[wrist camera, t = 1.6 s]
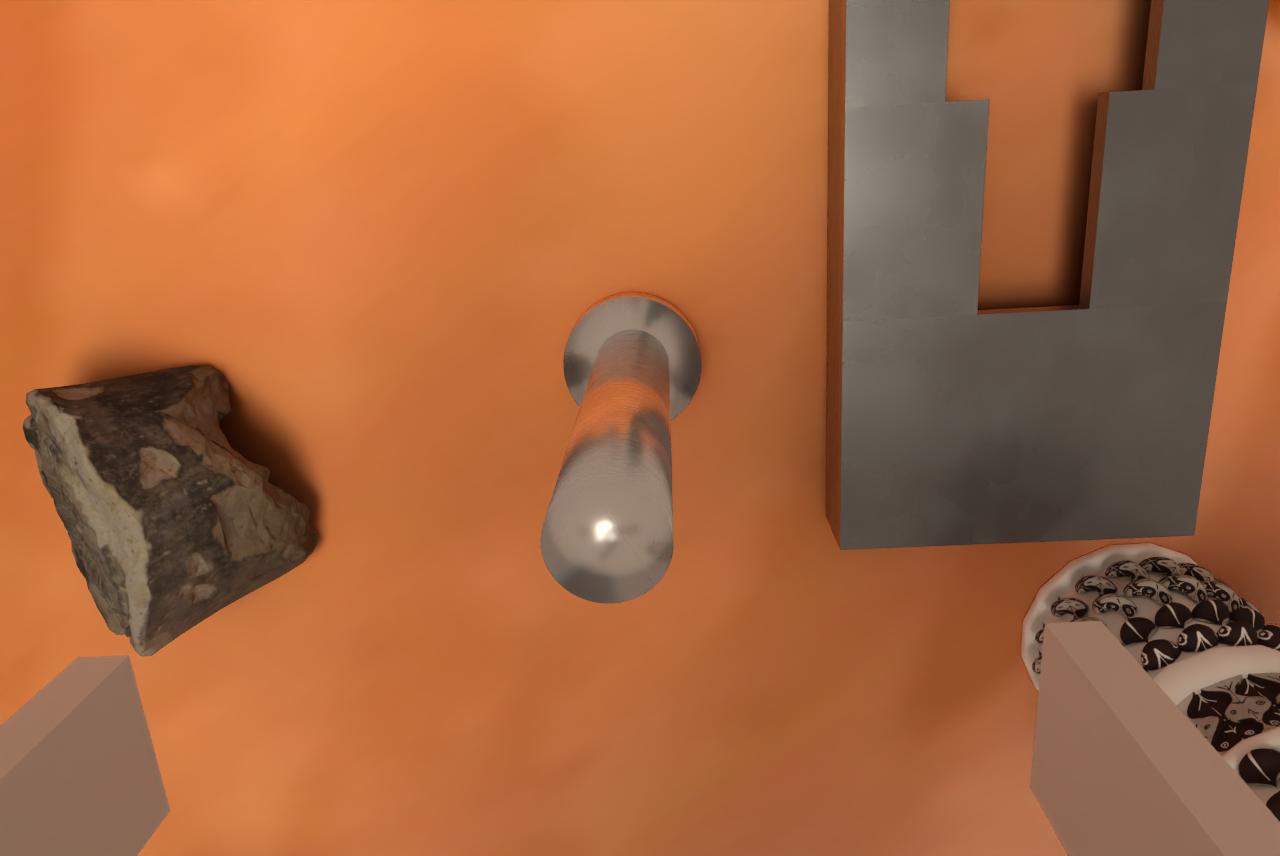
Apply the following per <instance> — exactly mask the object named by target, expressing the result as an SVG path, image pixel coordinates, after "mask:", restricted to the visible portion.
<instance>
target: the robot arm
mask: <svg viewBox="0 0 1280 856" xmlns="http://www.w3.org/2000/svg"><path fill="white" fill-rule="evenodd" d="M1030 787H1031V789H1032V791H1033V793H1034V795H1035V796H1036V798H1037V800H1038V802H1039V804H1040V805H1041V807H1042V809H1043V811H1044V813H1045V814H1046V816H1047V818H1048V820H1049V822H1050V824H1051V825H1052V827H1053V829H1054V831H1055V833H1056V834H1057V836H1058V838H1059V840H1060V842H1061V843H1062V845H1063V847H1064V849H1065V851H1066V852H1067V854H1068V856H1280V821H1279V820H1278V819H1277V818H1276V817H1275V816H1274V815H1273V814H1272V812H1271V811H1270V810H1269V809H1268V808H1267V807H1266V806H1265V805H1264V803H1263V802H1262V801H1261V800H1260V799H1259V798H1258V797H1257V796H1256V795H1255V793H1254V792H1253V791H1252V790H1251V789H1250V788H1249V787H1248V786H1247V784H1246V783H1245V782H1244V781H1243V780H1242V779H1241V778H1240V777H1239V775H1238V774H1237V773H1236V772H1235V771H1234V770H1233V769H1232V768H1231V766H1230V765H1229V764H1228V763H1227V762H1226V761H1225V760H1224V759H1223V757H1222V756H1221V755H1220V754H1219V753H1218V752H1217V751H1216V750H1215V748H1214V747H1213V746H1212V745H1211V744H1210V743H1209V742H1208V741H1207V739H1206V738H1205V737H1204V736H1203V735H1202V734H1201V733H1200V732H1199V730H1198V729H1197V728H1196V727H1195V726H1194V725H1193V724H1192V723H1191V721H1190V720H1189V719H1188V718H1187V717H1186V716H1185V715H1184V714H1183V712H1182V711H1181V710H1180V709H1179V708H1178V707H1177V706H1176V705H1175V703H1174V702H1173V701H1172V700H1171V699H1170V698H1169V697H1168V696H1167V694H1166V693H1165V692H1164V691H1163V690H1162V689H1161V688H1160V687H1159V686H1158V684H1157V683H1156V682H1155V681H1154V680H1153V679H1152V678H1151V677H1150V675H1149V674H1148V673H1147V672H1146V671H1145V670H1144V669H1143V668H1142V666H1141V665H1140V664H1139V663H1138V662H1137V661H1136V660H1135V659H1134V657H1133V656H1132V655H1131V654H1130V653H1129V652H1128V651H1127V650H1126V648H1125V647H1124V646H1123V645H1122V644H1121V643H1120V642H1119V641H1118V639H1117V638H1116V637H1115V636H1114V635H1113V634H1112V633H1111V632H1110V630H1109V629H1108V628H1107V627H1106V626H1105V625H1104V624H1103V623H1102V621H1088V622H1059V623H1045V629H1044V639H1043V650H1042V661H1041V672H1040V683H1039V694H1038V705H1037V716H1036V727H1035V738H1034V749H1033V760H1032V771H1031V782H1030ZM169 811H170V808H169V804H168V801H167V797H166V793H165V789H164V786H163V782H162V778H161V774H160V770H159V767H158V763H157V759H156V755H155V752H154V748H153V744H152V740H151V737H150V733H149V729H148V725H147V722H146V718H145V714H144V710H143V707H142V703H141V699H140V695H139V691H138V688H137V684H136V680H135V676H134V673H133V669H132V665H131V661H130V658H129V656H102V657H78V658H77V659H76V660H74V661H73V662H72V663H71V664H70V665H69V666H68V667H67V668H65V669H64V670H63V671H62V672H61V673H60V674H59V675H58V676H56V677H55V678H54V679H53V680H52V681H51V682H50V683H49V684H48V685H46V686H45V687H44V688H43V689H42V690H41V691H40V692H39V693H37V694H36V695H35V696H34V697H33V698H32V699H31V700H30V701H28V702H27V703H26V704H25V705H24V706H23V707H22V708H21V709H19V710H18V711H17V712H16V713H15V714H14V715H13V716H12V717H10V718H9V719H8V720H7V721H6V722H5V723H4V724H3V725H1V726H0V856H137V855H138V853H139V852H140V851H141V849H142V848H143V847H144V845H145V844H146V843H147V841H148V840H149V838H150V837H151V836H152V834H153V833H154V832H155V830H156V829H157V828H158V826H159V825H160V823H161V822H162V821H163V819H164V818H165V817H166V815H167V814H168V813H169Z"/></svg>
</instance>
